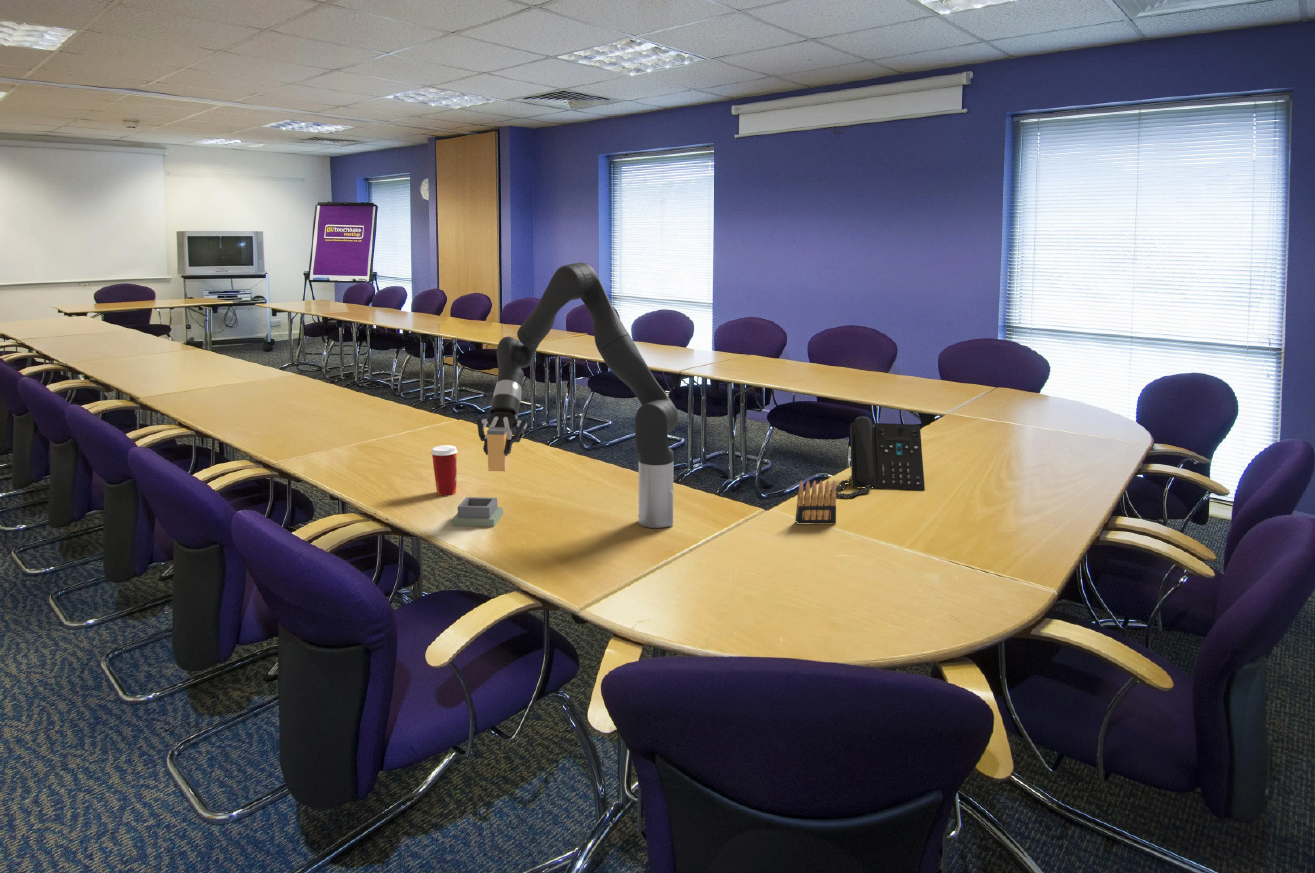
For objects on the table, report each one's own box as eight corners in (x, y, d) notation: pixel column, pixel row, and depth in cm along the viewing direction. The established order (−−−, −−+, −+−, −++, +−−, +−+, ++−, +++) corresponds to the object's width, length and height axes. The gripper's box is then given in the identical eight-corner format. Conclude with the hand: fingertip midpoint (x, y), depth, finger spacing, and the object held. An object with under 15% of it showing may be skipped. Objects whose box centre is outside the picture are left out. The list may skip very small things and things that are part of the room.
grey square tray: (503, 514, 222) (502, 497, 221) (493, 526, 213) (493, 508, 211) (463, 513, 223) (462, 496, 222) (452, 525, 213) (451, 507, 212)
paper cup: (465, 492, 242) (462, 446, 239) (446, 498, 236) (443, 452, 232) (447, 487, 246) (444, 443, 243) (427, 494, 240) (424, 448, 236)
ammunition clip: (834, 521, 218) (836, 479, 215) (836, 523, 216) (838, 481, 213) (795, 522, 218) (797, 479, 215) (796, 524, 216) (798, 481, 213)
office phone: (830, 499, 238) (834, 432, 233) (822, 472, 266) (826, 413, 261) (932, 503, 235) (938, 436, 230) (913, 476, 262) (918, 415, 258)
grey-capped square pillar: (509, 466, 218) (508, 427, 216) (504, 471, 214) (503, 431, 211) (492, 466, 219) (491, 426, 216) (488, 470, 214) (487, 430, 212)
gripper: (477, 391, 219) (466, 445, 210) (529, 393, 218) (520, 447, 210) (483, 406, 226) (473, 459, 217) (534, 408, 225) (525, 461, 216)
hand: (496, 453), depth 213 cm, fingers closed on grey-capped square pillar, 4 cm apart
